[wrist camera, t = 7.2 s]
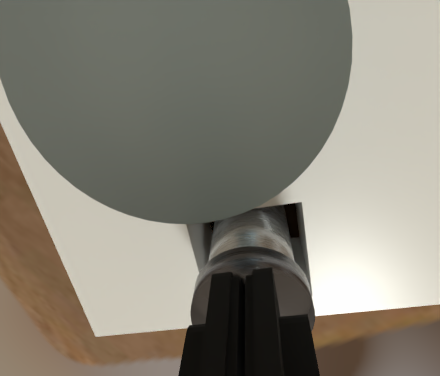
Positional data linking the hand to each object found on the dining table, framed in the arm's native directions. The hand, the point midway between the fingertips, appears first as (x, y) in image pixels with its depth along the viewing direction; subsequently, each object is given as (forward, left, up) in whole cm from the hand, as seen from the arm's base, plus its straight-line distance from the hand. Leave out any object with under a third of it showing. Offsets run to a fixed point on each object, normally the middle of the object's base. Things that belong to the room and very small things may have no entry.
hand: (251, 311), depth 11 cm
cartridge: (-7, 0, -7) cm, 10 cm away
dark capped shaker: (0, 0, -6) cm, 6 cm away
